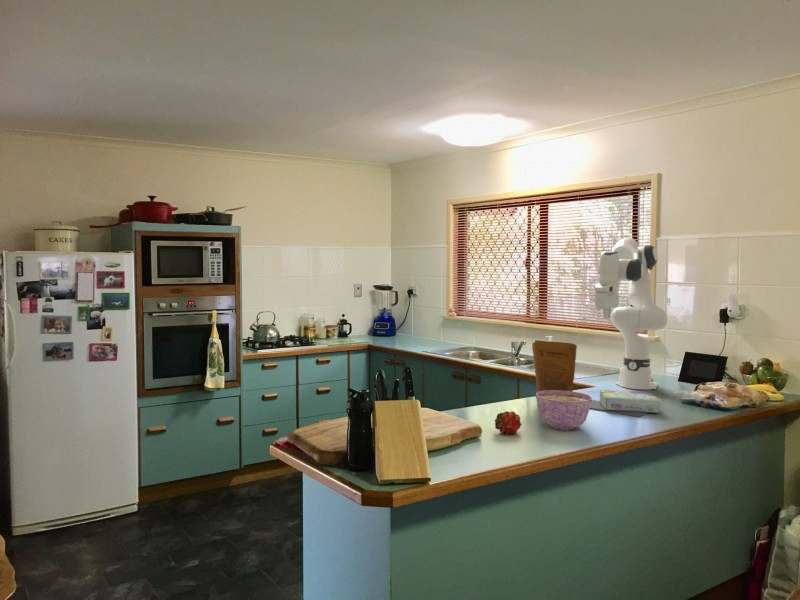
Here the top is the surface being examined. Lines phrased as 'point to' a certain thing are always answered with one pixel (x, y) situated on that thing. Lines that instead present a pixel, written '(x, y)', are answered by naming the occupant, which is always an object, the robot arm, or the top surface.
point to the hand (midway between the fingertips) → (606, 318)
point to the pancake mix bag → (554, 365)
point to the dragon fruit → (508, 422)
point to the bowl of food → (563, 408)
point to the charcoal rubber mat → (598, 406)
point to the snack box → (629, 401)
